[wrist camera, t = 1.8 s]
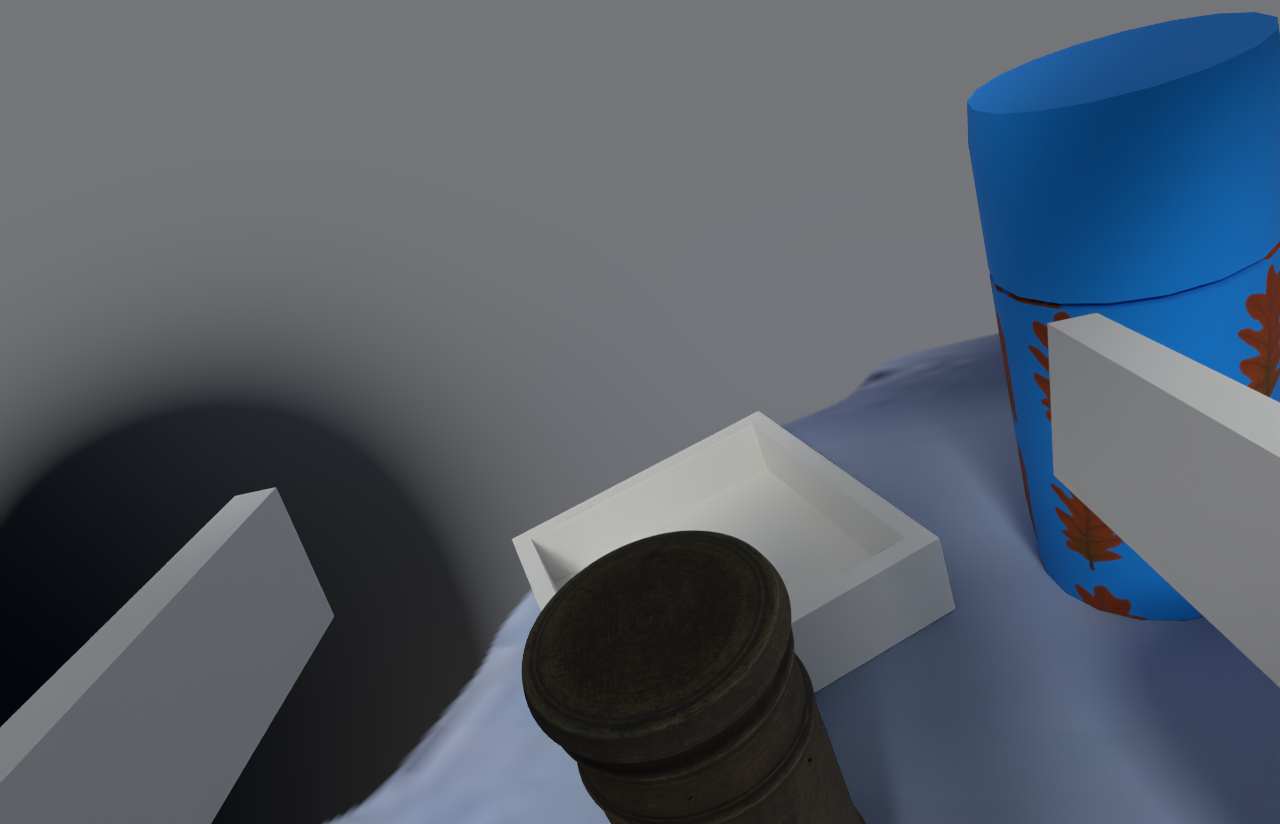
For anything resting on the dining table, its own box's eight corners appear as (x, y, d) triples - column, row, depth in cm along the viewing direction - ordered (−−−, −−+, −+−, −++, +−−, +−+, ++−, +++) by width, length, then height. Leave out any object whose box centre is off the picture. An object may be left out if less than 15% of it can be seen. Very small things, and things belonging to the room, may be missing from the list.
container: (971, 983, 28) (862, 621, 21) (759, 1142, 27) (551, 812, 19) (829, 797, 36) (710, 484, 28) (658, 910, 35) (482, 609, 27)
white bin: (776, 465, 61) (758, 411, 59) (955, 608, 43) (939, 538, 41) (540, 592, 57) (511, 539, 55) (629, 803, 40) (592, 737, 38)
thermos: (1220, 658, 36) (1203, 93, 25) (996, 575, 44) (910, 128, 33) (1315, 517, 40) (1336, -13, 29) (1095, 467, 49) (1048, 43, 38)
